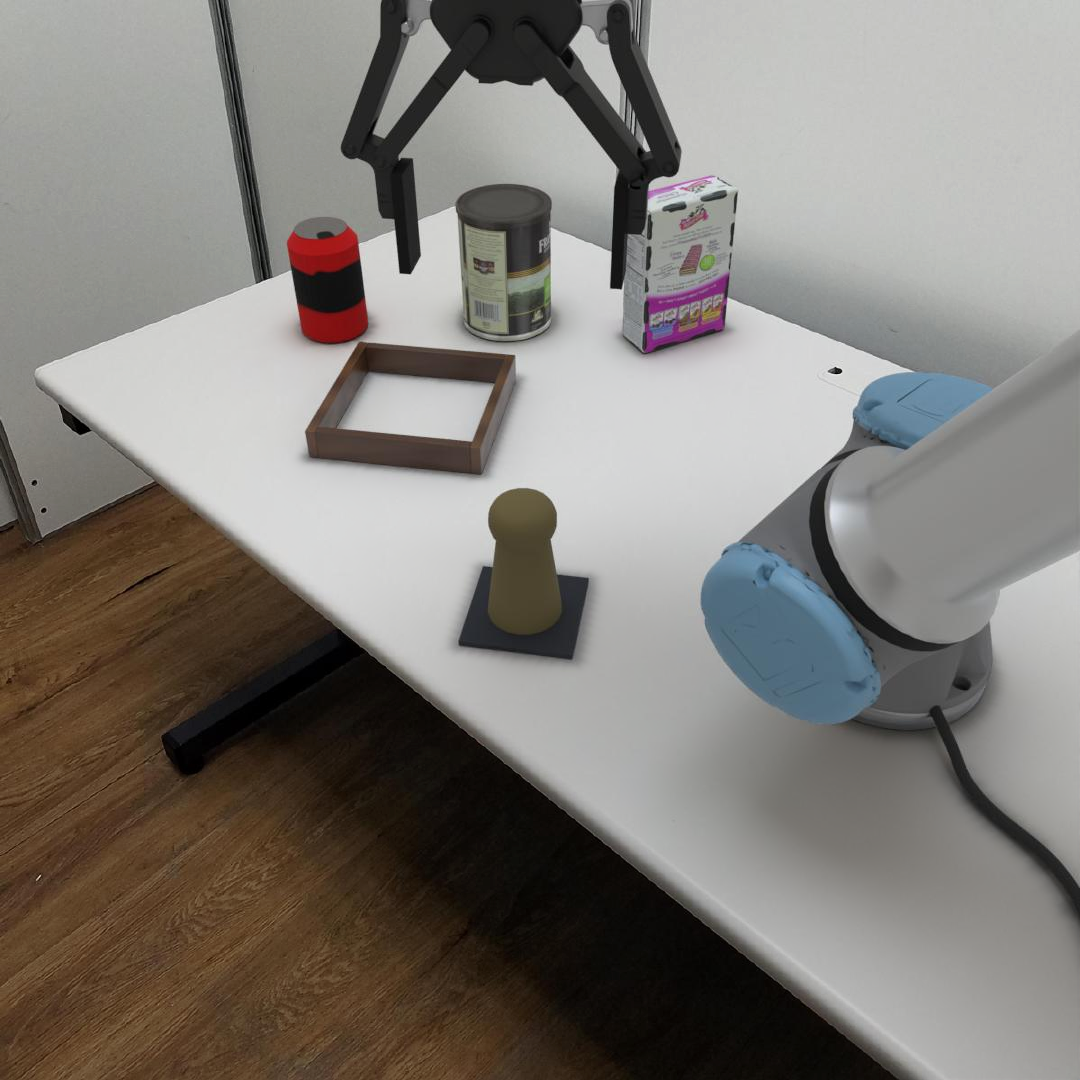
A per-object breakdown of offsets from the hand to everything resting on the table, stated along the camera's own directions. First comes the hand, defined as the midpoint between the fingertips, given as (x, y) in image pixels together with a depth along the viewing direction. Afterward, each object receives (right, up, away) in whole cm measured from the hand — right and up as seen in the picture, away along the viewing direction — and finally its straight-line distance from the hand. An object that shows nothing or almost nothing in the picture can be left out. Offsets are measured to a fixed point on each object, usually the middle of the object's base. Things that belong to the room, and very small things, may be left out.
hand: (513, 272), depth 69 cm
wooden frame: (-11, -5, +39) cm, 41 cm away
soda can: (-22, +7, +53) cm, 58 cm away
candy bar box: (+17, +6, +52) cm, 55 cm away
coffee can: (-2, +8, +54) cm, 55 cm away
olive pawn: (0, -23, +17) cm, 29 cm away
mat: (+1, -23, +17) cm, 29 cm away
